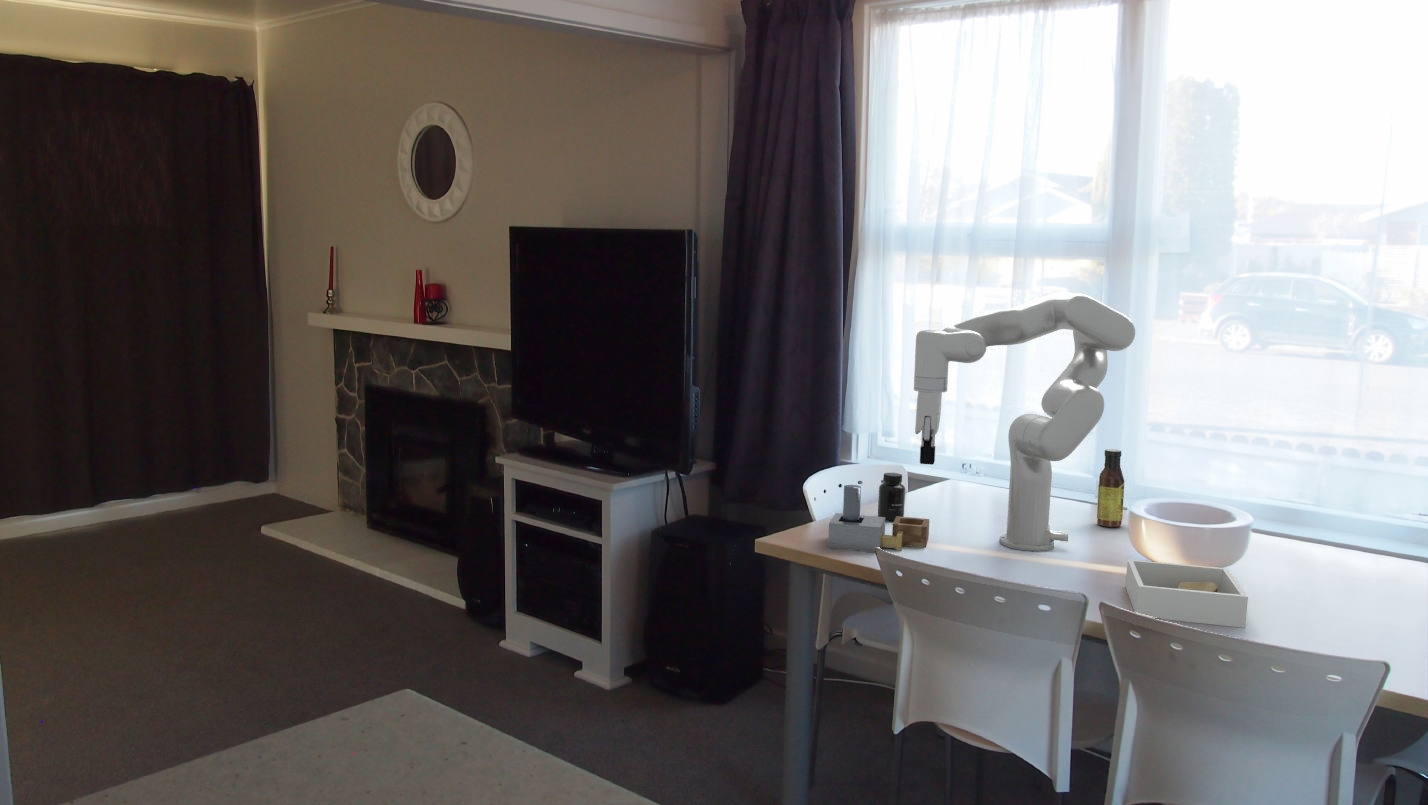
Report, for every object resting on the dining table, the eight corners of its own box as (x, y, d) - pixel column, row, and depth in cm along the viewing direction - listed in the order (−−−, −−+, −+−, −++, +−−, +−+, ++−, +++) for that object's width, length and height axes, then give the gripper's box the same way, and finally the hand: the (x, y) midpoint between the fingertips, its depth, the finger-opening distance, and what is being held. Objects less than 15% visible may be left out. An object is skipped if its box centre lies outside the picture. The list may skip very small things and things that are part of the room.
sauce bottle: (1125, 528, 262) (1131, 452, 260) (1101, 528, 262) (1106, 452, 260) (1116, 522, 269) (1121, 448, 266) (1092, 521, 269) (1097, 447, 266)
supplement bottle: (896, 523, 263) (898, 478, 262) (872, 519, 267) (874, 474, 266) (908, 518, 269) (910, 474, 267) (885, 514, 273) (887, 470, 271)
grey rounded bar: (859, 542, 245) (862, 485, 243) (857, 547, 241) (859, 489, 239) (843, 541, 246) (845, 484, 244) (840, 545, 242) (842, 487, 240)
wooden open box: (928, 539, 249) (929, 519, 248) (925, 547, 241) (926, 527, 241) (895, 536, 251) (896, 516, 250) (891, 544, 243) (892, 524, 243)
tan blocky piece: (902, 546, 242) (903, 531, 241) (901, 550, 238) (901, 535, 238) (863, 542, 244) (864, 528, 244) (861, 546, 241) (862, 531, 240)
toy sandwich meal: (1154, 590, 213) (1156, 568, 212) (1225, 605, 205) (1227, 582, 204) (1137, 606, 203) (1139, 583, 202) (1211, 621, 195) (1213, 597, 194)
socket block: (884, 541, 246) (885, 517, 245) (879, 552, 236) (880, 527, 236) (835, 537, 249) (835, 513, 248) (828, 547, 240) (829, 522, 239)
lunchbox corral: (1224, 596, 209) (1227, 568, 208) (1245, 627, 191) (1248, 597, 190) (1125, 587, 214) (1127, 559, 213) (1136, 616, 196) (1138, 586, 195)
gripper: (916, 380, 242) (913, 456, 244) (910, 387, 227) (907, 468, 229) (949, 381, 240) (945, 458, 242) (945, 389, 225) (941, 470, 227)
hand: (927, 462), depth 236 cm, fingers closed
